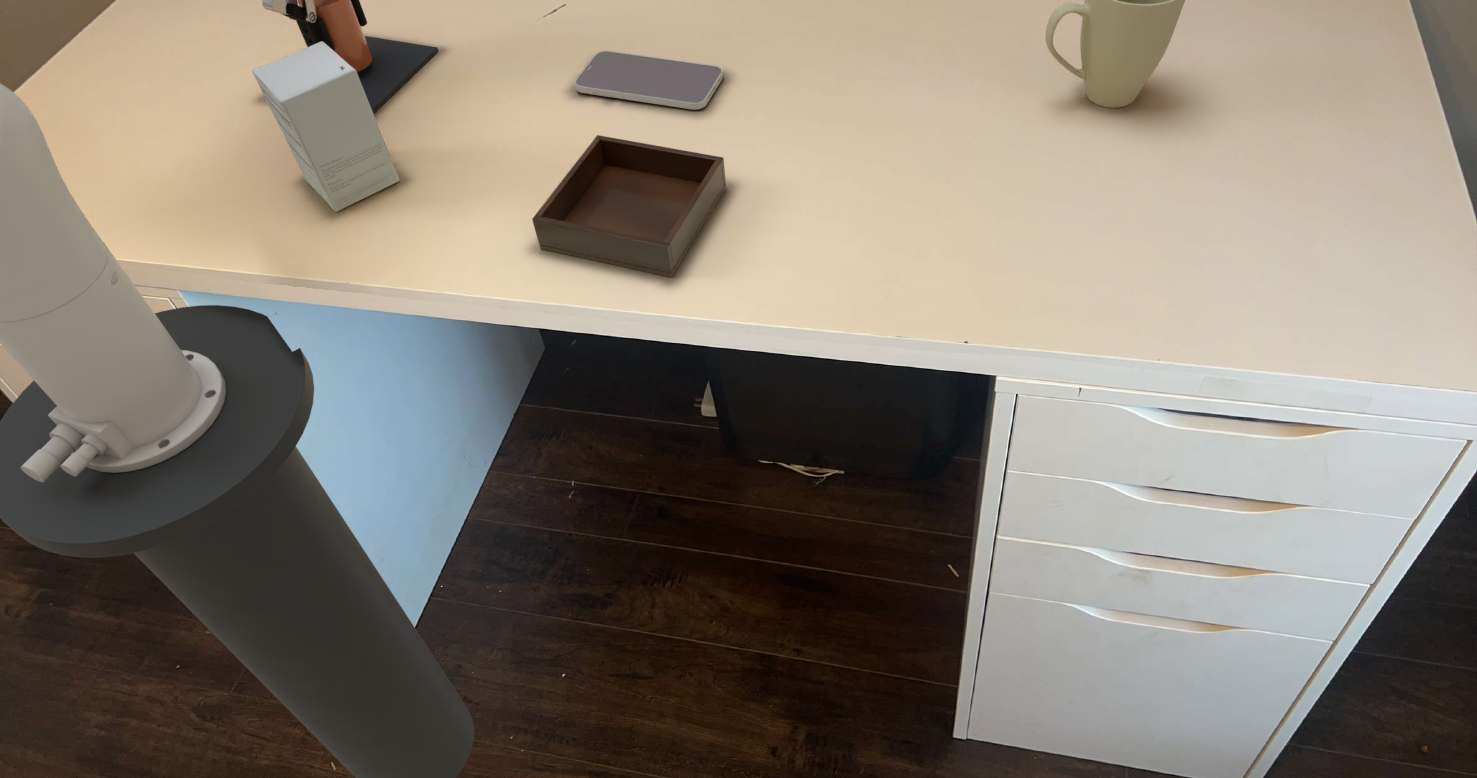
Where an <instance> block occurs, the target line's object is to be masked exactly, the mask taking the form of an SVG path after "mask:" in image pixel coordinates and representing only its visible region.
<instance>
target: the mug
mask: <svg viewBox="0 0 1477 778" xmlns="http://www.w3.org/2000/svg"><path fill="white" fill-rule="evenodd" d="M1185 2H1186V0H1084V3H1083V4H1081V3H1076V2H1066V3H1063V4H1060V5H1058V6H1057V7H1056V8H1055V9H1054V10H1053V11H1052V13H1050V16H1049V18H1048V21H1047V24H1046V28H1045V44H1046V48H1047V49H1048V51H1049V53H1050V54H1051V56H1052V57H1053V58H1054V59H1055V61H1056V62H1058V63H1059V64H1060V65H1061V66H1062V67H1063V68H1064V69H1065V70H1067V71H1068V72H1070V73H1071V74H1073V75H1074V76H1075V77H1077V78H1080V79H1083V83H1084V91H1085V96H1086V97H1087V99H1088V100H1089V101H1090V102H1091V103H1093V104H1095V105H1097V106H1100V107H1103V108H1110V109H1118V108H1125V107H1127V106H1129V105H1132V103H1134V101H1135V100H1136V98H1137V97H1138V95H1139V93H1140V92H1141V91H1142V89H1143V88H1144V86H1145V85H1146V84H1147V82H1148V80H1149V79H1150V77H1151V76H1153V75H1152V74H1153V73H1154V72H1155V70H1156V68H1157V67H1158V66H1159V64H1160V62H1161V61H1162V59H1163V58H1164V55H1165V53H1166V51H1167V49H1168V47H1169V45H1170V43H1171V39H1172V37H1173V35H1174V32H1175V29H1176V26H1177V24H1178V21H1179V19H1180V16H1181V13H1182V10H1183V7H1184V5H1185ZM1068 14H1076V15H1079V16H1080V17H1081V27H1080V37H1079V46H1080V47H1079V49H1080V60H1081V62H1080V63H1081V68H1079V69H1078V68H1076V67H1075V66H1073V65H1072V64H1071V63H1070V62H1068V61H1067V60H1066V59H1065V58H1064V57H1063V56H1062V55H1061V54H1059V52H1058V51H1057V50H1056V48H1055V46H1054V36H1055V32H1056V28H1057V26H1058V25H1059V23H1060V21H1061V20H1062V19H1063V17H1065V16H1066V15H1068Z"/></svg>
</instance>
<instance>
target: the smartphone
mask: <svg viewBox="0 0 1477 778" xmlns="http://www.w3.org/2000/svg"><path fill="white" fill-rule="evenodd" d="M723 73H724V72H723V69H722V67H720V66H718V65H711V64H703V63H698V62H690V61H685V60H675V59H670V58H669V59H668V58H662V57H655V56H649V55H640V54H632V53H625V52H618V51H611V50H602V51H599V52H596V53H595V54H594V55H593V57H592V58H591V59H590V61H589V62H588V63H587V64H586V66H585V67H584V68H583V69H582V71H580V73H579V75H578V76H577V77H576V79H575V80H574V85H575V90H576V91H577V92H579V93H580V94H581V93H582V94H588V95H594V96H600V97H608V98H612V99H613V98H615V99H621V100H627V101H633V102H639V103H648V104H654V105H660V106H667V107H673V108H681V109H687V110H693V111H695V110H697V111H698V110H701V109H704V108H705V107H706V106H707V105H708V103H709V102H710V100H711V99H712V98H713V97H712V96H713V95H714V94H715V93H716V90H717V88H718V87H719V85H720V83H721V82H722V81H723V78H724V75H723Z"/></svg>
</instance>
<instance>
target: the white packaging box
mask: <svg viewBox="0 0 1477 778" xmlns="http://www.w3.org/2000/svg"><path fill="white" fill-rule="evenodd" d="M251 72H252V74H253V77H254V79H255V81H256V83H257V84H258V87H259V88H260V90H261V93H262V95H263V97H264V99H265V101H266V103H267V105H268V107H269V110H270V111H271V113H272V115H273V117H274V119H275V121H276V123H277V125H278V127H279V129H280V131H281V133H282V135H283V137H284V140H285V141H286V144H287V145H288V148H289V150H290V152H291V154H292V156H293V158H294V160H295V162H296V164H297V166H298V169H299V171H300V172H301V174H302V176H303V178H304V180H305V181H306V182H307V183H308V185H310V186H311V188H312V189H313V190H315V192H316V193H317V194H318V195H319V196H320V197H321V198H322V199H323V201H324V202H325V203H326V204H327V205H328V206H329V207H330V208H331V209H332V210H333V211H334V212H335V213H338V212H339V211H341V210H344V209H345V208H347V207H350V206H351V205H354V204H355V203H357V202H360V201H361V200H363V199H366V198H367V197H370V196H372V195H373V194H376V193H378V192H380V191H382V190H383V189H386V188H388V187H390V186H392V185H394V184H397V183H398V182H400V181H401V179H400V176H399V174H398V172H397V168H396V166H395V164H394V162H393V158H392V157H391V153H390V152H389V149H388V147H387V144H386V142H385V139H384V137H383V134H382V132H381V129H380V126H379V124H378V121H377V119H376V116H375V113H374V114H373V111H372V109H371V106H370V104H369V101H368V99H367V96H366V94H365V91H364V89H363V86H362V84H361V82H360V79H359V76H358V74H357V71H356V70H355V69H354V68H353V67H351V66H350V65H349V64H348V63H347V62H346V61H344V60H343V59H342V58H341V57H340V56H339V55H338V54H337V53H335V52H334V51H333V50H332V49H331V48H330V47H329V46H327V45H326V44H325V43H324V42H319V43H317V44H314V45H312V46H310V47H307V46H306V47H305V48H303V49H301V50H298V51H295V52H294V53H291V54H287V55H286V56H284V57H281V58H278V59H276V60H274V61H272V62H269V63H266V64H265V65H262V66H260V67H257V68H254V69H252V70H251Z"/></svg>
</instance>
